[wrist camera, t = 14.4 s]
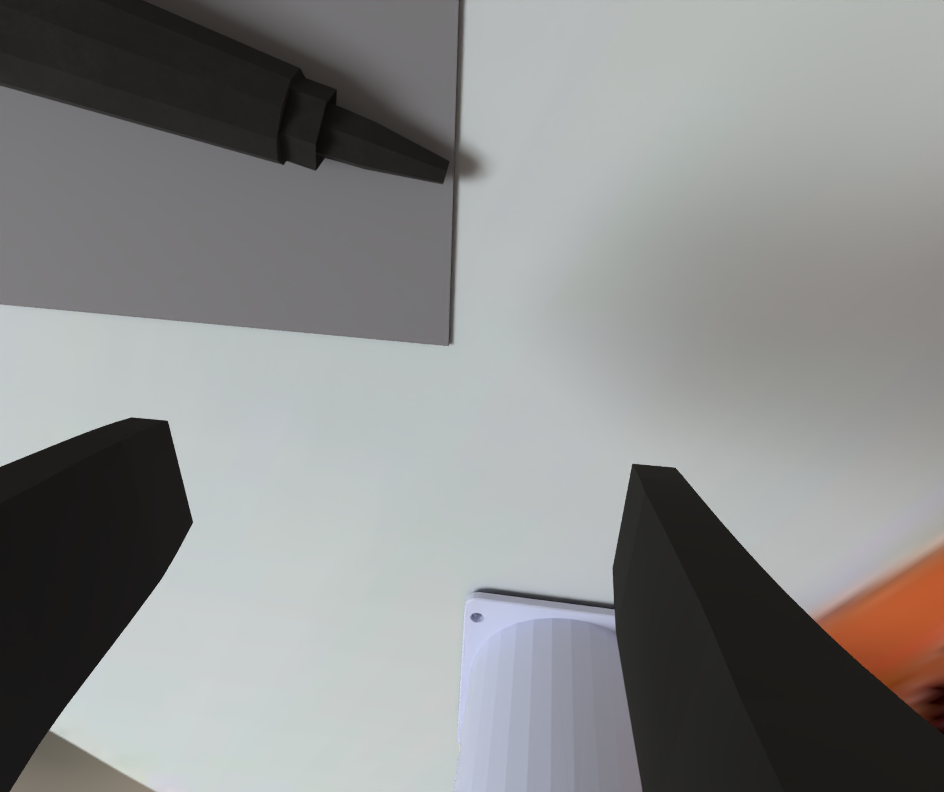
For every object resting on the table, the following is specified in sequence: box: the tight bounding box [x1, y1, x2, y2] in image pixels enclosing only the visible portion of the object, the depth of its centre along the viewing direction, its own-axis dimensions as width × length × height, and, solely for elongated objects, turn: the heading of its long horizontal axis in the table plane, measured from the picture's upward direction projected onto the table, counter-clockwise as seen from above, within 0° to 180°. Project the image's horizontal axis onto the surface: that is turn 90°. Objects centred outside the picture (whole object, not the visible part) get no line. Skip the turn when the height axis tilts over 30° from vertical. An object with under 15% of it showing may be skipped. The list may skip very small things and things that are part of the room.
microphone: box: [0, 0, 450, 184], centre depth 14 cm, size 6×6×20 cm
